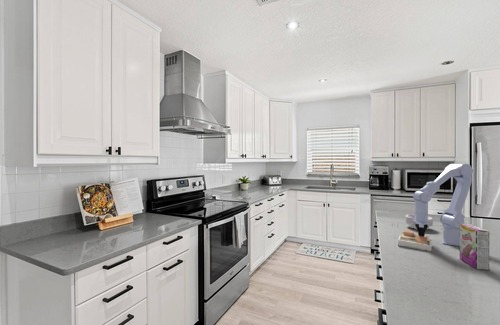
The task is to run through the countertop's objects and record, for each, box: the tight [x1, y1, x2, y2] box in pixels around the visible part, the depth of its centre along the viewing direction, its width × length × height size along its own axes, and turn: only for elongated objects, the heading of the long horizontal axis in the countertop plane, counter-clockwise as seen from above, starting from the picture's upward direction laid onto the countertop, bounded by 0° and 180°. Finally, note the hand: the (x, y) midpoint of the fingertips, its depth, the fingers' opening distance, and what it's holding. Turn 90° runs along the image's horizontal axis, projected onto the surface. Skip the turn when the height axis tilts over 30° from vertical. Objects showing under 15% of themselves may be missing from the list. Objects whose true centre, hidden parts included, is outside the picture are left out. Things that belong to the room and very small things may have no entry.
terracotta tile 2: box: [402, 229, 415, 237], centre depth 141 cm, size 5×5×2 cm
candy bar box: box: [459, 223, 490, 271], centre depth 105 cm, size 11×5×16 cm, turn 168°
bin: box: [397, 234, 433, 252], centre depth 129 cm, size 14×12×3 cm
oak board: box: [400, 231, 430, 243], centre depth 138 cm, size 13×11×2 cm
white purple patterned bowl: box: [404, 213, 434, 230], centre depth 163 cm, size 15×15×8 cm
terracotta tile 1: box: [416, 235, 427, 244], centre depth 130 cm, size 5×5×2 cm
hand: (421, 237), depth 133 cm, fingers closed
